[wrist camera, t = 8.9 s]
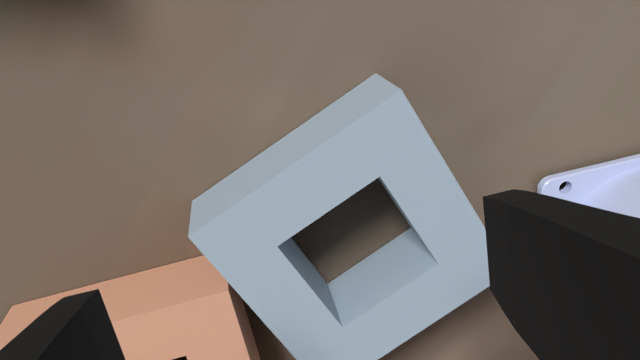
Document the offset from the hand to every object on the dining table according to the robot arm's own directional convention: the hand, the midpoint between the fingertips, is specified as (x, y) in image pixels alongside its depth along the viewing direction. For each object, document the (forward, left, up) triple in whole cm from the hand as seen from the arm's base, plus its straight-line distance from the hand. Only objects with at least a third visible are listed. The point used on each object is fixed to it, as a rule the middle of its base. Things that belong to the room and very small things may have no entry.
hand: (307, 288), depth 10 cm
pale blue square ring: (-2, +4, -10) cm, 11 cm away
